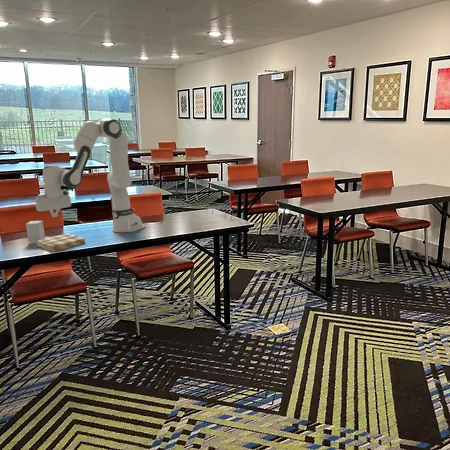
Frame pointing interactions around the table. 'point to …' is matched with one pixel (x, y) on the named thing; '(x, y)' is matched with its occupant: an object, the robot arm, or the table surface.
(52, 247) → the laid board
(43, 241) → the tan quilted pad
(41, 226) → the supplement box
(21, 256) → the table surface
